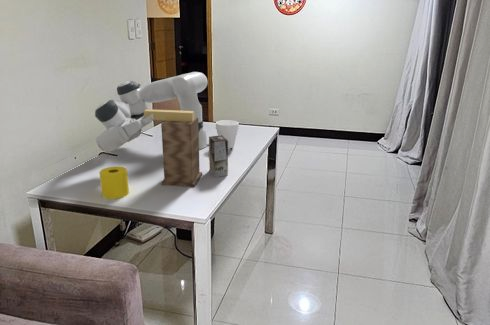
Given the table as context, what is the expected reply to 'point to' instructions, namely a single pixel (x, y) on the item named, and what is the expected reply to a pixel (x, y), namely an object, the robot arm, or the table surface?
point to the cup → (228, 130)
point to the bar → (170, 115)
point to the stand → (180, 153)
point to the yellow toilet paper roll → (114, 182)
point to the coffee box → (218, 155)
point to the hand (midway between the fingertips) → (157, 113)
